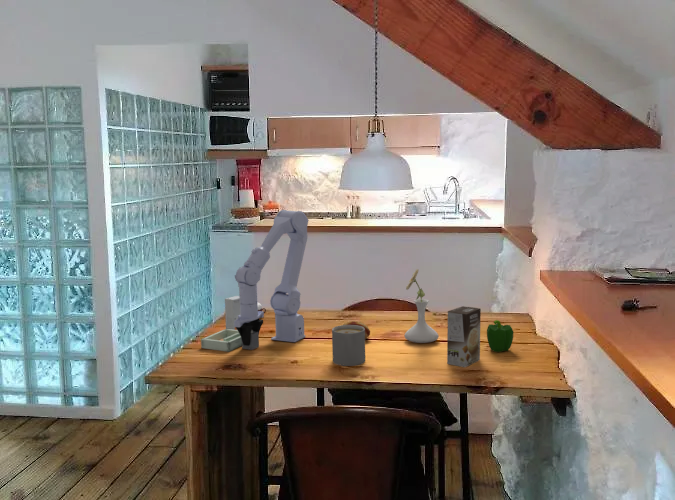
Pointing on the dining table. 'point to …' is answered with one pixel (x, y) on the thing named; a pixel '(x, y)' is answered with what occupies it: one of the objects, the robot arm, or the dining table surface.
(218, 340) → the grey-green rectangular frame
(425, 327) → the flower in vase
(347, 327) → the coffee mug
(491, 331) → the bell pepper
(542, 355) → the dining table surface
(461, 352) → the coffee box
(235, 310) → the skincare box
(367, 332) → the croissant
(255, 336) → the grey block with knob
